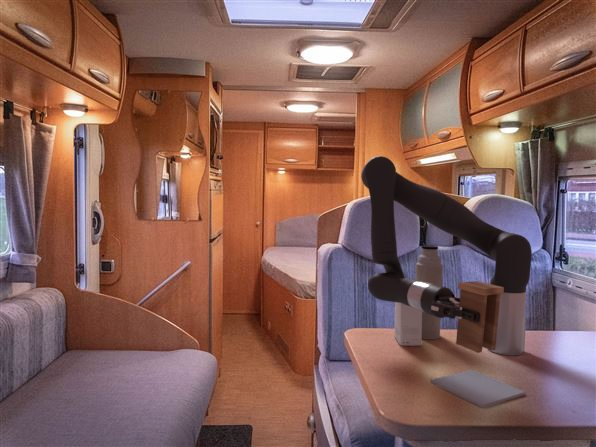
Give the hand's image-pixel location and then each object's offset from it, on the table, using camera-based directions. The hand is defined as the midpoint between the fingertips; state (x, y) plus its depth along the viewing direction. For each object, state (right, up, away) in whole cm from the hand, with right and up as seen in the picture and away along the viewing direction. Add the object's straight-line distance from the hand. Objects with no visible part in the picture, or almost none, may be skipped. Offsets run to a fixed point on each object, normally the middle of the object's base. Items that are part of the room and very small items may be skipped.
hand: (488, 316), depth 98 cm
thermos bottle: (-1, -15, +42) cm, 44 cm away
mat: (-1, -17, +3) cm, 17 cm away
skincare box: (-9, -15, +35) cm, 39 cm away
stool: (-2, -7, +3) cm, 8 cm away
